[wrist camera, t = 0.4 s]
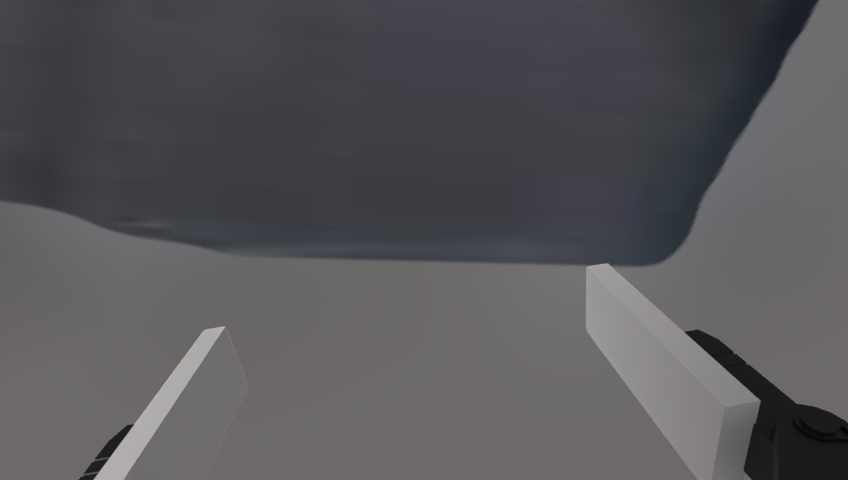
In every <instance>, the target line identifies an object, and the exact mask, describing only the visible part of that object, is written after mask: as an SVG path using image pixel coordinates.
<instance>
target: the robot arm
mask: <svg viewBox="0 0 848 480" xmlns="http://www.w3.org/2000/svg"><path fill="white" fill-rule="evenodd" d="M586 274H587V275H586V331H587V332H588V333H589V335H590V336H591V337H592V339H593V340H594V341H595V343H596V344H597V345H598V347H599V348H600V349H601V351H602V352H603V354H604V355H605V356H606V358H607V359H608V360H609V362H610V363H611V364H612V366H613V367H614V368H615V370H616V371H617V372H618V374H619V375H620V376H621V378H622V379H623V380H624V382H625V383H626V385H627V386H628V387H629V389H630V390H631V391H632V393H633V394H634V395H635V397H636V398H637V399H638V401H639V402H640V403H641V405H642V406H643V407H644V409H645V410H646V411H647V413H648V414H649V416H650V417H651V418H652V420H653V421H654V422H655V423H656V425H657V426H658V427H659V429H660V430H661V432H662V433H663V434H664V436H665V437H666V438H667V440H668V441H669V442H670V444H671V445H672V446H673V448H674V449H675V450H676V452H677V453H678V455H679V456H680V457H681V458H682V460H683V461H684V463H685V464H686V465H687V467H688V468H689V469H690V471H691V472H692V473H693V475H694V476H695V477H696V479H697V480H743V477H744V472H746V474H747V475H748V476H749V477H750V478H751V479H752V480H848V423H847V422H846V421H845V420H843V419H841V418H839V417H837V416H836V415H834V414H832V413H830V412H828V411H825V410H822V409H819V408H817V407H813V406H807V405H801V404H796V403H795V402H794V401H792V400H791V399H790V398H789V397H788V396H786V395H785V394H784V393H783V392H781V391H780V390H779V389H778V388H777V387H775V386H774V385H773V384H772V383H770V382H769V381H768V380H767V379H766V378H765V377H763V376H762V375H761V374H760V373H758V372H757V371H756V370H755V369H754V368H752V367H751V366H750V365H747V364H746V362H745V361H744V360H743V359H741V358H740V357H739V356H738V355H737V354H734V353H733V351H732V350H731V349H729V348H728V347H727V346H725V344H723V343H722V342H721V341H720V340H719V339H717V338H714V337H712V336H710V335H708V334H706V333H704V332H702V331H700V330H693V331H687V332H683V331H682V330H681V329H680V328H679V327H678V326H677V325H676V324H674V323H673V322H672V321H671V320H670V319H669V318H668V317H667V316H665V315H664V314H663V313H662V312H661V311H660V310H659V309H658V308H657V307H656V306H654V305H653V304H652V303H651V302H650V301H649V300H648V299H647V298H646V297H644V296H643V295H642V294H641V293H640V292H639V291H637V289H635V288H634V287H633V286H632V285H631V284H630V283H629V282H628V281H627V280H626V279H624V278H623V277H622V276H621V275H620V274H619V273H618V272H616V271H615V270H614V269H613V268H612V267H611V266H610V265H609V264H608V263H607V264H601V265H594V266H588V267H587V273H586ZM248 388H249V383H248V381H247V379H246V376H245V373H244V371H243V368H242V366H241V363H240V361H239V359H238V356H237V353H236V351H235V349H234V346H233V344H232V341H231V339H230V336H229V334H228V331H227V329H226V326H224V327H218V328H212V329H206V330H204V331H203V332H202V334H201V335H200V336H199V338H198V339H197V340H196V342H195V343H194V344H193V346H192V347H191V348H190V350H189V351H188V352H187V354H186V355H185V357H184V358H183V359H182V361H181V362H180V363H179V365H178V366H177V367H176V369H175V370H174V371H173V373H172V374H171V376H170V377H169V378H168V380H167V381H166V382H165V384H164V385H163V386H162V388H161V389H160V390H159V392H158V393H157V394H156V396H155V397H154V399H153V400H152V401H151V403H150V404H149V405H148V407H147V408H146V409H145V411H144V412H143V414H142V415H141V416H140V418H139V419H138V420H137V422H136V423H135V424H132V425H127V426H126V427H125V428H123V429H122V430H121V431H120V432H119V433H118V434H117V435H115V436H114V437H113V438H112V439H111V440H110V441H109V442H108V443H107V444H106V445H105V447H104V448H103V449H102V450H101V452H100V453H99V455H98V456H97V457H96V458H95V462H92V463H91V465H90V466H89V467H88V469H87V470H86V471H85V472H84V476H83V477H81V478H80V479H79V480H206V479H207V477H208V475H209V472H210V470H211V468H212V466H213V464H214V462H215V459H216V457H217V455H218V453H219V451H220V448H221V446H222V444H223V442H224V440H225V438H226V436H227V433H228V431H229V429H230V427H231V425H232V423H233V420H234V418H235V416H236V414H237V412H238V409H239V407H240V405H241V403H242V401H243V399H244V397H245V394H246V392H247V390H248Z"/></svg>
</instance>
